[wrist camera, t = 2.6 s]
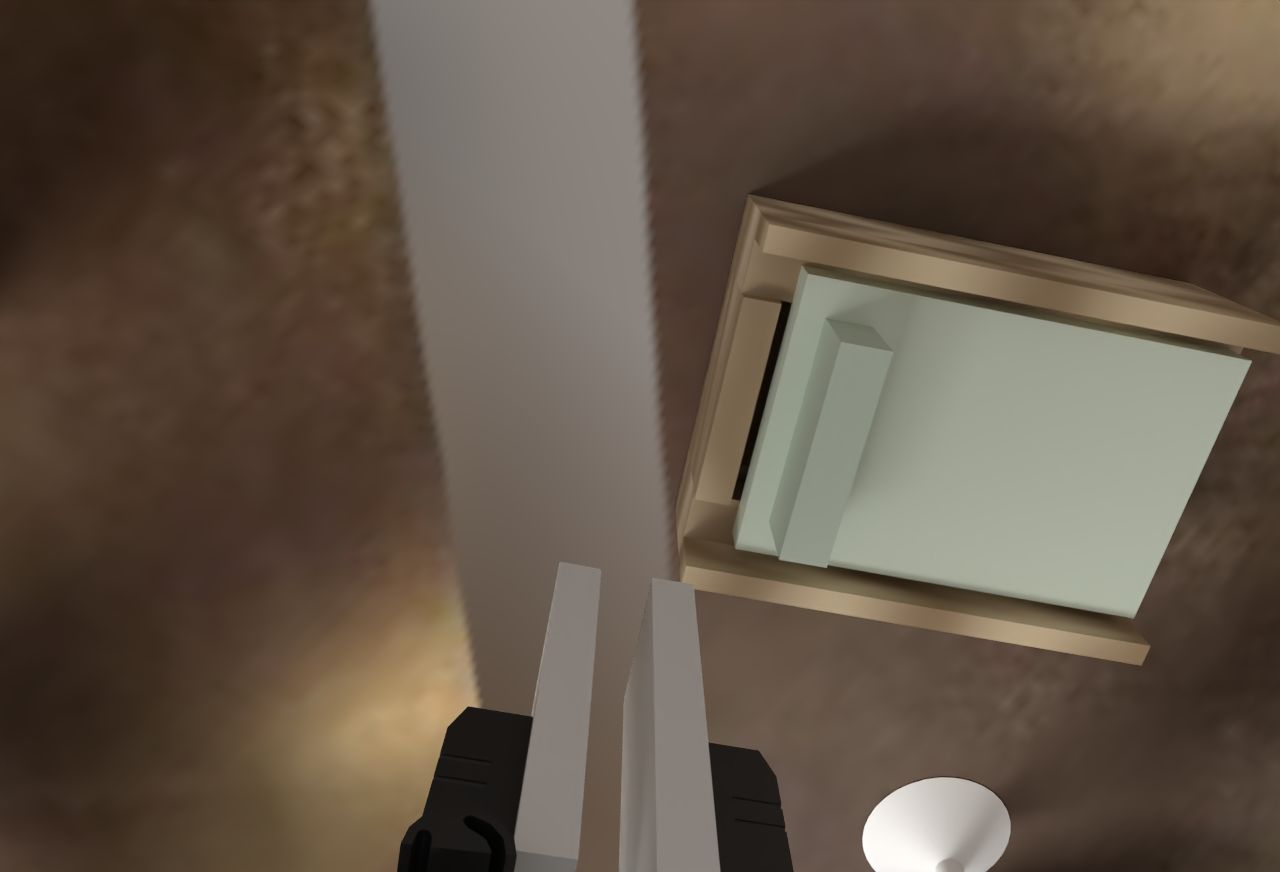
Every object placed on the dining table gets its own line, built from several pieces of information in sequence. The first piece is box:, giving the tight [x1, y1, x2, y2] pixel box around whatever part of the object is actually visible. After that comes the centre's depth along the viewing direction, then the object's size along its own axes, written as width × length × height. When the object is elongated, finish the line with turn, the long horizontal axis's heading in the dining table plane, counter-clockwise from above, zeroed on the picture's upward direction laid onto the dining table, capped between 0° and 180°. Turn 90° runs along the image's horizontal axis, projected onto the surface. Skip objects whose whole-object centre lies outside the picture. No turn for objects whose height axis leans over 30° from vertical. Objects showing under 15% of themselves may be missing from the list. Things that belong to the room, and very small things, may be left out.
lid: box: [732, 265, 1252, 618], centre depth 30 cm, size 14×9×4 cm
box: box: [675, 194, 1280, 666], centre depth 32 cm, size 16×12×6 cm
